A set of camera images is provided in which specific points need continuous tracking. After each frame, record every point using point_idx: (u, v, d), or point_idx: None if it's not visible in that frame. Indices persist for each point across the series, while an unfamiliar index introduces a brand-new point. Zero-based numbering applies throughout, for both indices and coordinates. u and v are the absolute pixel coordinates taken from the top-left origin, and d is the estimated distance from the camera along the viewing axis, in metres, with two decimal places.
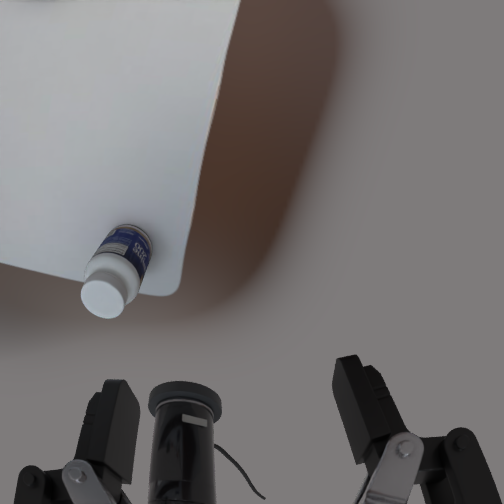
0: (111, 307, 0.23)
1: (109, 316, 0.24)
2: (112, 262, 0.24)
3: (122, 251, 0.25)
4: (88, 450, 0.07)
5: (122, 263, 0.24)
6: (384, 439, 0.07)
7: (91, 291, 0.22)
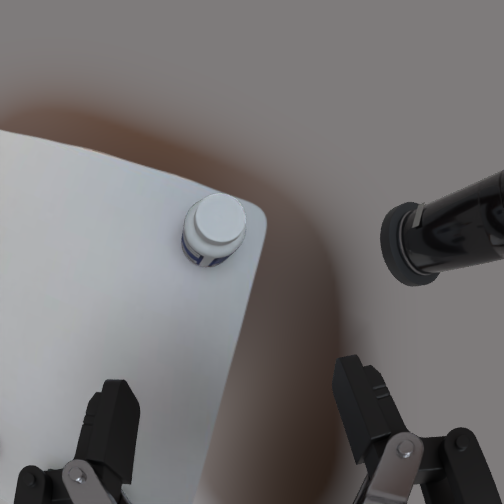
0: (230, 208, 0.24)
1: (242, 215, 0.24)
2: (190, 212, 0.25)
3: None
4: (88, 450, 0.07)
5: (194, 204, 0.26)
6: (384, 439, 0.07)
7: (208, 224, 0.23)
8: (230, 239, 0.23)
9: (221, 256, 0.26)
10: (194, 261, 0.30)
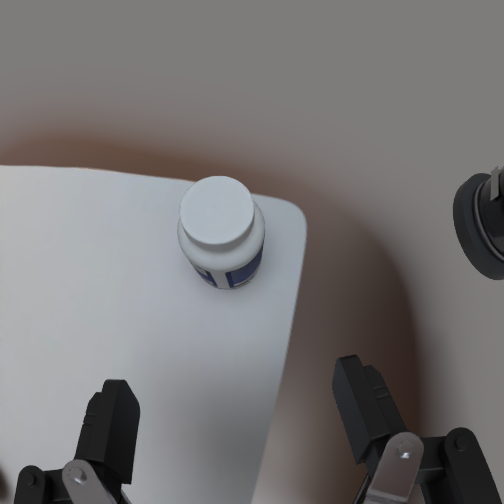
0: (229, 194, 0.16)
1: (248, 202, 0.16)
2: None
3: None
4: (88, 450, 0.07)
5: None
6: (384, 439, 0.07)
7: (198, 220, 0.16)
8: (232, 238, 0.15)
9: (232, 268, 0.18)
10: (209, 282, 0.23)
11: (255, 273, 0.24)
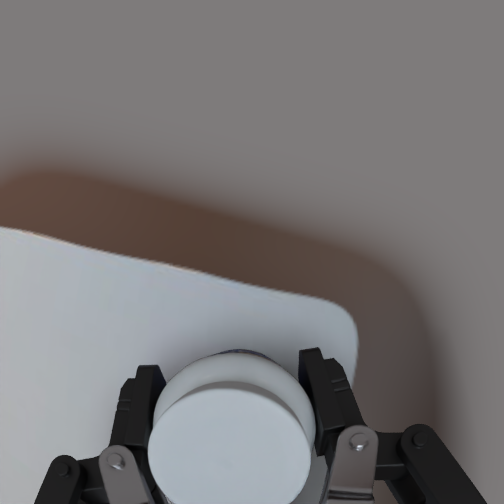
0: (255, 436, 0.06)
1: (299, 452, 0.06)
2: (158, 410, 0.08)
3: None
4: (125, 435, 0.08)
5: (168, 385, 0.09)
6: (339, 431, 0.08)
7: (191, 486, 0.06)
8: None
9: None
10: None
11: None
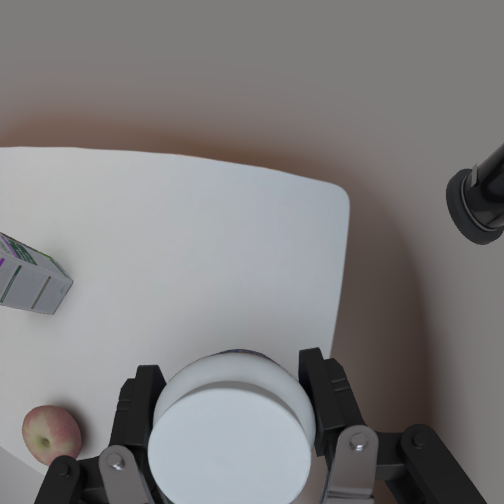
0: (255, 436, 0.06)
1: (300, 452, 0.06)
2: (158, 410, 0.08)
3: None
4: (126, 435, 0.08)
5: (168, 385, 0.09)
6: (339, 431, 0.08)
7: (191, 486, 0.06)
8: None
9: None
10: None
11: None
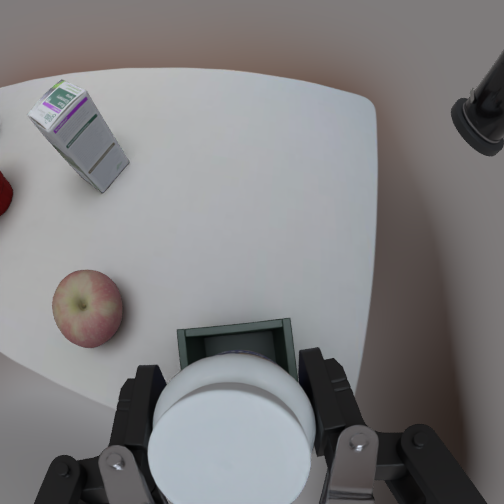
0: (255, 437, 0.06)
1: (300, 453, 0.06)
2: (158, 412, 0.08)
3: None
4: (125, 435, 0.08)
5: (168, 386, 0.09)
6: (339, 431, 0.08)
7: (191, 488, 0.06)
8: None
9: None
10: None
11: None
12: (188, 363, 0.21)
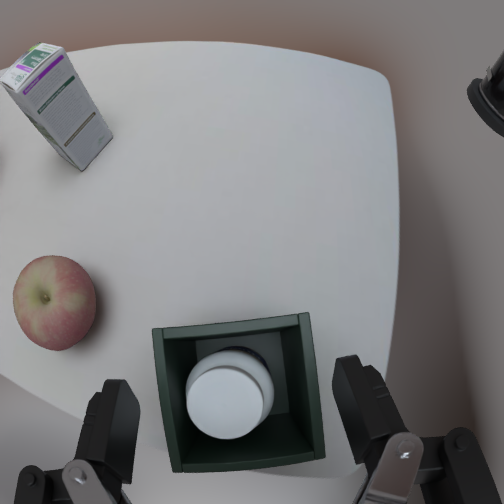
0: (235, 390, 0.14)
1: (256, 397, 0.14)
2: (188, 385, 0.17)
3: None
4: (88, 450, 0.07)
5: (192, 371, 0.17)
6: (384, 439, 0.07)
7: (208, 419, 0.14)
8: (244, 433, 0.14)
9: None
10: None
11: None
12: (167, 375, 0.15)
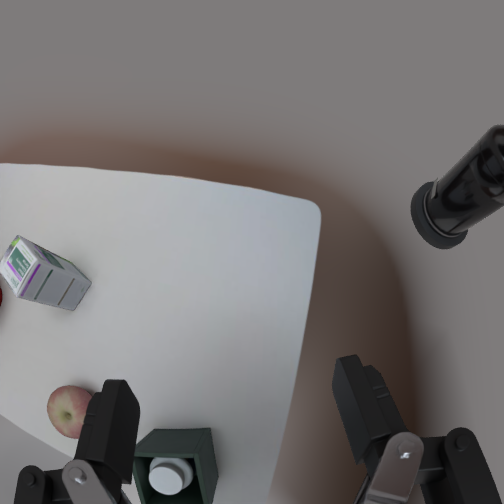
0: (169, 476, 0.26)
1: (179, 480, 0.26)
2: (150, 467, 0.28)
3: None
4: (88, 450, 0.07)
5: (152, 461, 0.28)
6: (384, 439, 0.07)
7: (158, 486, 0.25)
8: (175, 493, 0.25)
9: None
10: None
11: None
12: (137, 470, 0.26)
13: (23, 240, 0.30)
